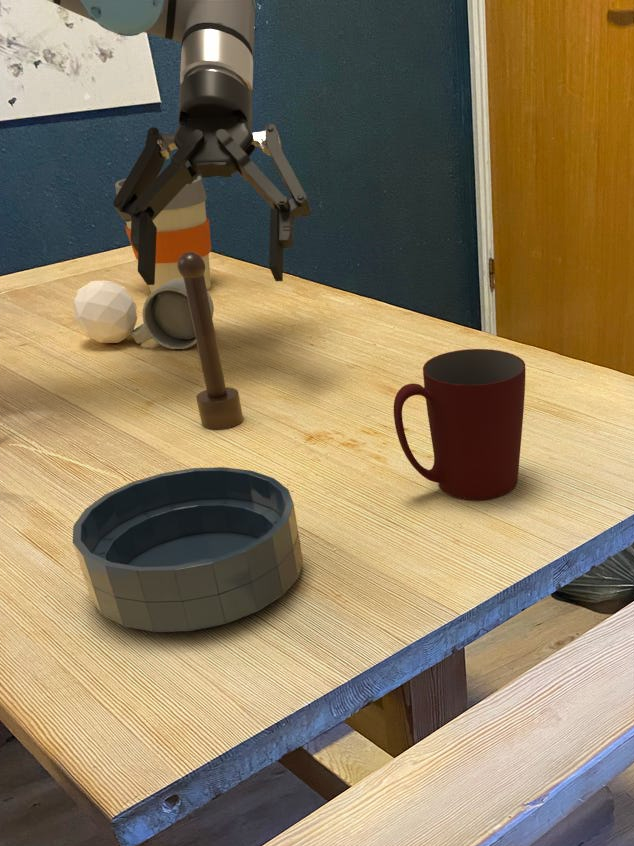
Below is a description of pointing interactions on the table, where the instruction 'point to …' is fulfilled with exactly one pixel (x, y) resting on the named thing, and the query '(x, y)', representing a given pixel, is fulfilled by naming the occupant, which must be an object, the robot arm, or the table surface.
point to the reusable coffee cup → (179, 232)
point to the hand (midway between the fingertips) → (210, 276)
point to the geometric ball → (105, 311)
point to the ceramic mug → (168, 317)
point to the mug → (470, 421)
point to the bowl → (189, 548)
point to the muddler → (208, 351)
